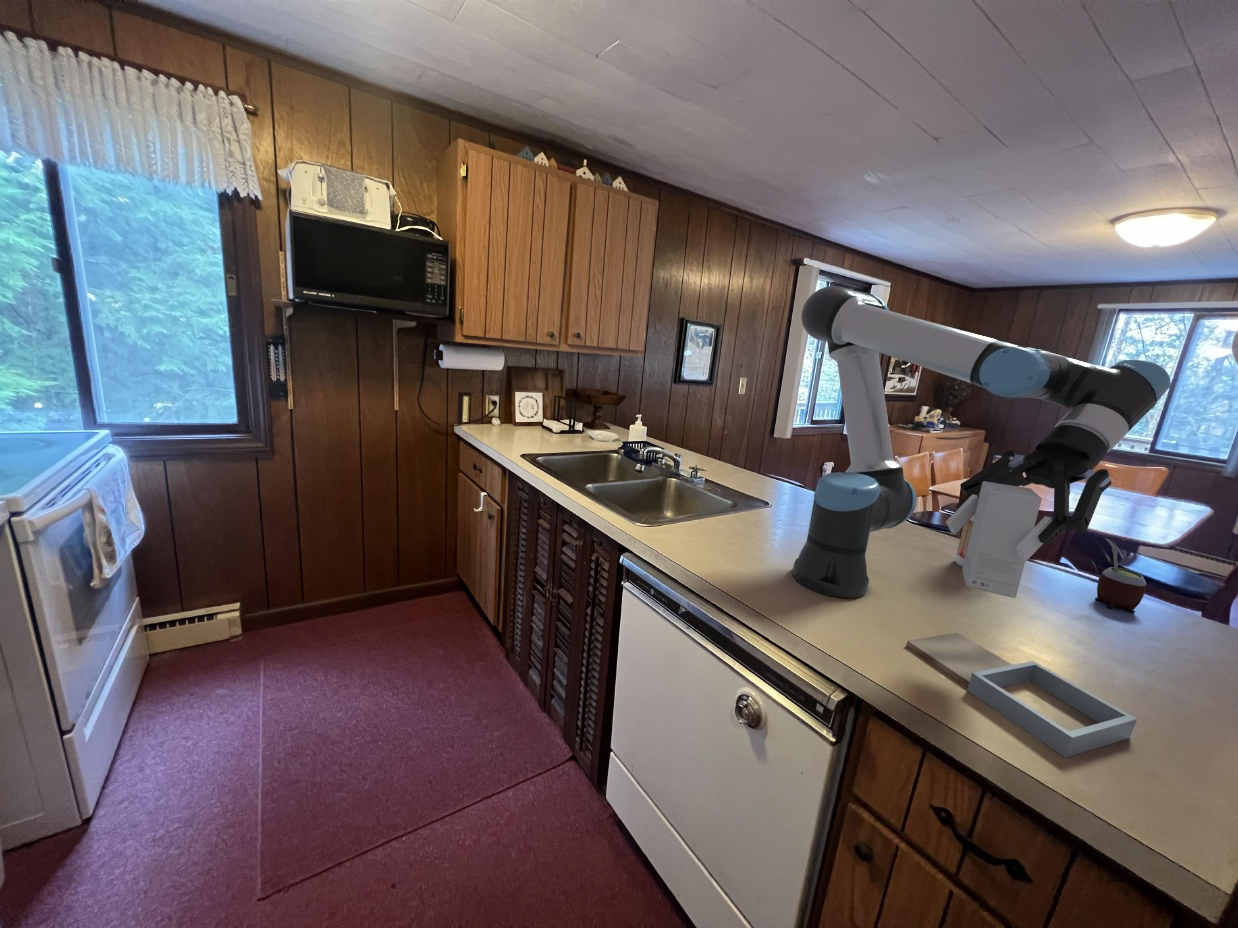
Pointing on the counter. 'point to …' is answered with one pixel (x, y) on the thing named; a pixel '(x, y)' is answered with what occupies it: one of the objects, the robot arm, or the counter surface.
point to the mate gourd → (1120, 586)
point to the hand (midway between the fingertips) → (983, 540)
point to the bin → (1066, 743)
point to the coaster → (956, 655)
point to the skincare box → (999, 537)
